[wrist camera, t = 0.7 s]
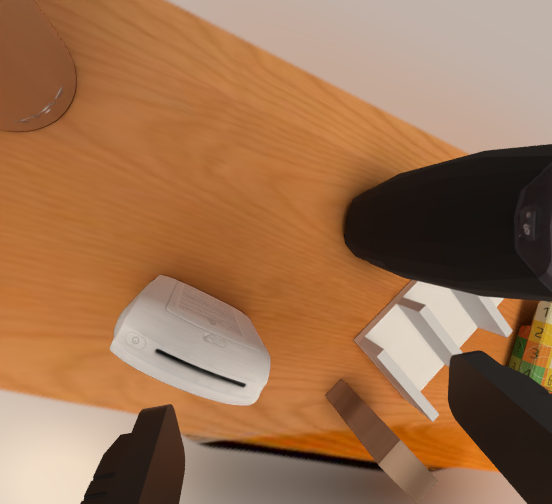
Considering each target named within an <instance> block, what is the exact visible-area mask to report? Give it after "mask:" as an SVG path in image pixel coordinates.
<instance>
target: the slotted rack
mask: <svg viewBox="0 0 552 504" xmlns="http://www.w3.org/2000/svg"><path fill="white" fill-rule="evenodd" d="M503 299H504V298H496V297H482V296H478V295H474V294H470V293H466V292H461V291H457V290H453V289H449V288H445V287H441V286H436V285H432V284H428V283H424V282H420V281H415V280H411V281H410V282H409V283H408V284H407V285H406V286H405V287H404V288H403V289H402V291H401V292H400V293H399V294H398V295H397V296H396V297H395V298H394V299H393V300H392V301H391V302H390V303H389V304H388V305H387V306H386V307H385V308H384V309H383V310H382V311H381V312H380V313H379V314H378V315H377V316H376V317H375V318H374V319H373V320H372V321H371V322H370V323H369V324H368V325H367V326H366V328H365V329H364V330H363V331H362V332H361V333H360V334H359V335H358V336H357V337H356V338H355V339H354V341H355V342H356V344H357V345H358V346H359V347H360V348H361V349H362V350H363V352H364V353H365V354H366V355H367V356H368V357H369V359H370V360H371V361H372V362H373V363H374V364H375V365H376V367H377V368H378V369H379V370H380V371H381V372H382V373H383V375H384V376H385V377H386V378H387V379H388V380H389V382H390V383H391V384H392V385H393V386H394V387H395V388H396V390H397V391H398V392H399V393H400V394H401V395H402V396H403V398H404V399H406V400H407V401H408V402H409V403H410V404H412V405H413V406H414V407H415V408H417V409H418V410H419V411H420V412H421V413H423V414H424V415H425V416H426V417H428V418H429V419H430V420H431V421H432V422H433V421H434V420H435V419H436V418H437V417H438V415H439V414H438V412H437V411H436V410H435V409H434V408H433V406H432V405H431V404H430V403H429V402H428V401H427V399H426V398H425V397H424V396H423V395H422V393H421V392H420V391H421V390H422V389H423V388H424V387H425V386H426V384H427V383H428V382H429V381H430V380H431V379H432V378H433V377H434V376H435V374H436V373H437V372H438V371H439V370H440V369H441V368H442V367H443V366H444V364H445V365H447V366H449V365H450V358H451V356H453V355H455V354H461V353H462V351H461V350H460V349H459V348H460V347H461V346H462V345H463V343H464V342H465V341H466V340H467V339H468V338H469V337H470V336H471V335H472V333H473V332H474V331H475V330H476V329H477V328H481V329H484V330H487V331H489V332H492V333H495V334H498V335H501V336H504V337H506V338H507V337H508V336H509V335H510V334H511V332H512V329H511V328H510V326H509V325H508V323H507V322H506V320H505V319H504V318H503V316H502V315H501V313H500V312H499V310H498V309H497V306H498V305H499V304H500V302H501V301H502V300H503Z"/></svg>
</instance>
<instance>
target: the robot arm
mask: <svg viewBox="0 0 552 504" xmlns="http://www.w3.org/2000/svg"><path fill="white" fill-rule="evenodd" d="M75 89H76V72H75V66H74V63H73V60H72V58H71V55H70V53H69V51H68V49H67V48H66V46H65V45H64V43H63V41H62V40H61V39H60V37H59V36H58V34H57V33H56V32H55V30H54V29H53V27H52V26H51V25H50V23H49V22H48V20H47V19H46V18H45V16H44V15H43V13H42V12H41V10H40V9H39V7H38V6H37V5H36V3H35V2H34V1H33V0H0V129H1V130H4V131H17V132H21V131H30V130H35V129H38V128H42V127H45V126H47V125H49V124H50V123H52V122H54V121H55V120H57V119H58V118H59V117H60V116H61V115H62V114H63V113H64V112H65V111H66V110H67V108H68V107H69V105H70V103H71V102H72V99H73V96H74V93H75ZM448 403H449V407H450V409H451V412H452V414H453V416H454V418H455V419H456V421H457V422H458V423H459V425H460V426H461V427H462V428H463V429H464V430H465V432H466V433H467V434H468V435H469V436H470V437H471V439H472V440H473V441H474V442H475V443H476V444H477V446H478V447H479V448H480V449H481V450H482V451H483V452H484V454H485V455H486V456H487V457H488V458H489V459H490V461H491V462H492V463H493V464H494V465H495V466H496V468H497V469H498V470H499V471H500V472H501V473H502V475H503V476H504V477H505V478H506V479H507V480H508V482H509V483H510V484H511V485H512V486H513V487H514V489H515V490H516V491H517V492H518V493H519V494H520V496H521V497H522V498H523V499H524V500H525V501H526V502H527V504H552V393H551V394H550V393H549V392H548V390H547V389H546V388H544V387H543V386H541V385H540V384H539V383H537V382H536V381H535V380H533V379H532V378H530V377H529V376H527V375H525V374H523V373H521V372H518V371H516V370H514V369H512V368H510V367H508V366H505V365H504V366H502V365H501V364H499V363H498V362H497V361H495V360H494V359H493V358H491V357H490V356H489V355H487V354H486V353H484V352H483V351H472V352H466V353H461V354H455V355H453V356H451V358H450V365H449V386H448ZM184 471H185V453H184V447H183V443H182V438H181V434H180V430H179V426H178V422H177V418H176V414H175V411H174V408H173V406H172V405H171V404H169V405H163V406H158V407H152V408H147V409H142V410H141V412H140V413H139V415H138V418H137V420H136V423H135V425H134V428H133V430H132V433H128V434H123V435H120V436H119V437H118V438H117V440H116V441H115V442H114V443H113V444H112V445H111V447H110V448H109V449H108V450H107V451H106V452H105V454H104V455H103V457H102V459H101V461H100V463H99V465H98V468H97V470H96V472H95V474H94V476H93V481H91V483H90V485H89V487H88V489H87V491H86V493H85V495H84V501H82V502H81V504H179V501H180V495H181V489H182V484H183V478H184Z"/></svg>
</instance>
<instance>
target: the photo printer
mask: <svg viewBox="0 0 552 504" xmlns="http://www.w3.org/2000/svg"><path fill="white" fill-rule="evenodd" d="M110 351H112V352H113V353H114V354H115V355H116V356H117V357H119V358H120V359H121V360H123V361H124V362H126V363H127V364H129V365H130V366H132V367H134V368H135V369H137V370H139V371H141V372H143V373H145V374H147V375H149V376H151V377H153V378H155V379H157V380H159V381H162V382H164V383H166V384H168V385H171V386H173V387H176V388H178V389H181V390H183V391H186V392H189V393H192V394H194V395H197V396H200V397H204V398H207V399H210V400H213V401H217V402H221V403H226V404H231V405H252V404H253V403H254V402H256V401H257V400H258V398H259V395H260V392H261V391H262V389H263V387H264V386H265V385H266V383H267V381H268V377H269V372H270V355H269V353H268V351H267V349H266V347H265V346H264V344H263V342H262V340H261V339H260V337H259V335H258V333H257V331H256V329H255V328H254V326H253V324H252V322H251V320H250V319H249V318H248V317H247V316H246V315H245V314H244V313H242V312H241V311H239V310H237V309H236V308H234V307H232V306H230V305H228V304H227V303H224V302H222V301H220V300H218V299H216V298H214V297H212V296H210V295H208V294H206V293H204V292H202V291H200V290H198V289H196V288H194V287H192V286H189V285H187V284H185V283H183V282H181V281H178V280H176V279H174V278H171V277H168V276H164V275H159V276H158V277H157V278H156V279H155V280H153V281H151V282H150V283H149V284H148V285H147V286H146V287H145V288H144V289H143V290H142V291H141V292H140V293H139V294H138V295H137V296H136V297H135V298H134V299H133V301H132V302H131V303H130V304H129V305H128V306H127V307H126V308H125V309H124V310H123V311H122V313H121V315H120V316H119V318H118V321H117V323H116V325H115V328H114V339H113V341H112V343H111V346H110Z"/></svg>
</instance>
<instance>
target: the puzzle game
mask: <svg viewBox="0 0 552 504" xmlns="http://www.w3.org/2000/svg"><path fill="white" fill-rule="evenodd" d="M508 367H510V368H512V369H514V370H516V371H518V372H521V373H523V374H525V375H527V376H529V377H530V378H532V379H533V380H535V381H536V382H537V383H539V384H540V385H541V386H543V387H544V388H546V389H547V390H548V392H549V393H550V394H551V393H552V302H550V301H540V302H539V303H538V304H537V307H536V310H535V313H534V317H533V320H532V324H531V326H528V325H523V326H521V327H520V328H519V331H518V334H517V338H516V341H515V345H514V348H513V352H512V355H511V359H510V362H509V366H508Z"/></svg>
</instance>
